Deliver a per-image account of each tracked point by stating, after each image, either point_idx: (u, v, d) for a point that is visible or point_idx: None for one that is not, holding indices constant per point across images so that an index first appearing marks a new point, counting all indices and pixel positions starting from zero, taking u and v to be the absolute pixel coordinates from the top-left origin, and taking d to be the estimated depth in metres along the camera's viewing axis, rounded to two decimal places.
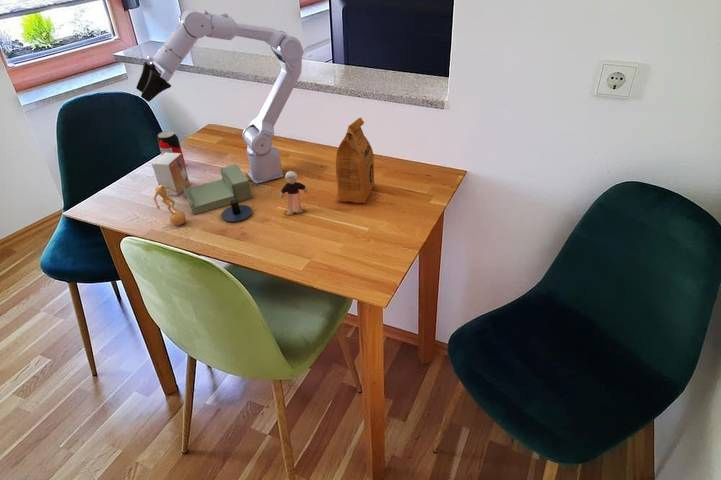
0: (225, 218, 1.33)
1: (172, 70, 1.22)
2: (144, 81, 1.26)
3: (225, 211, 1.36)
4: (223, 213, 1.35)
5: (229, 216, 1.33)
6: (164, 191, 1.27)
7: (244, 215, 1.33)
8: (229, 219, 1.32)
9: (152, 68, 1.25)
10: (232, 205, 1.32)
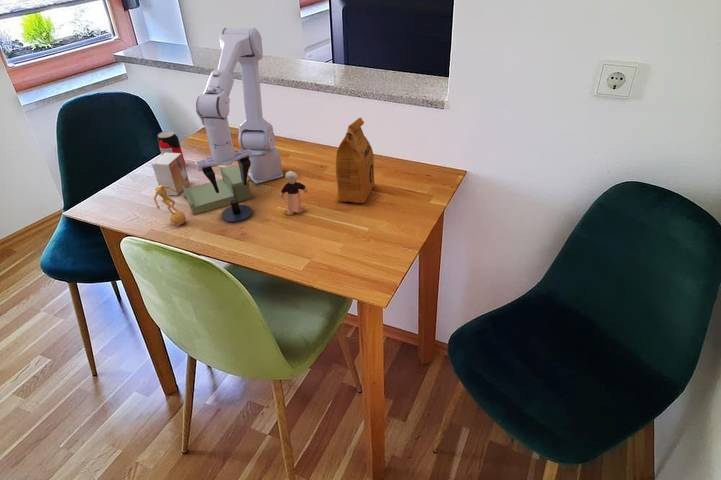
0: (225, 218, 1.33)
1: None
2: None
3: (225, 211, 1.36)
4: (223, 213, 1.35)
5: (229, 216, 1.33)
6: (164, 191, 1.27)
7: (244, 215, 1.33)
8: (229, 219, 1.32)
9: (212, 169, 1.24)
10: (232, 205, 1.32)
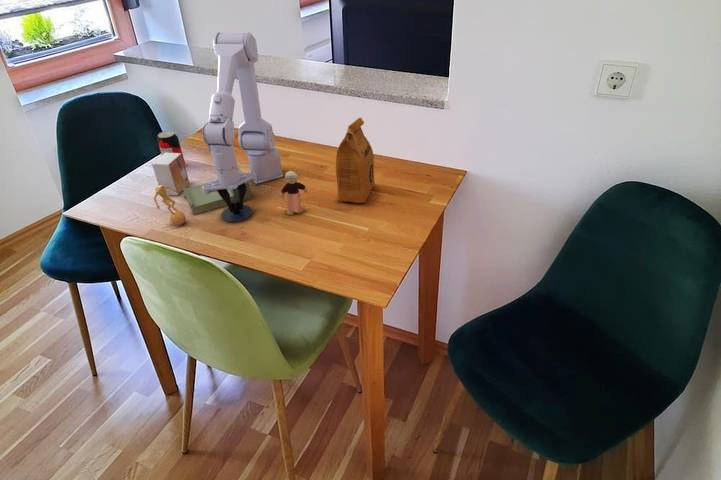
0: (225, 218, 1.33)
1: None
2: None
3: (225, 211, 1.36)
4: (223, 213, 1.35)
5: (229, 216, 1.33)
6: (164, 191, 1.27)
7: (244, 215, 1.33)
8: (229, 219, 1.32)
9: None
10: (232, 205, 1.32)
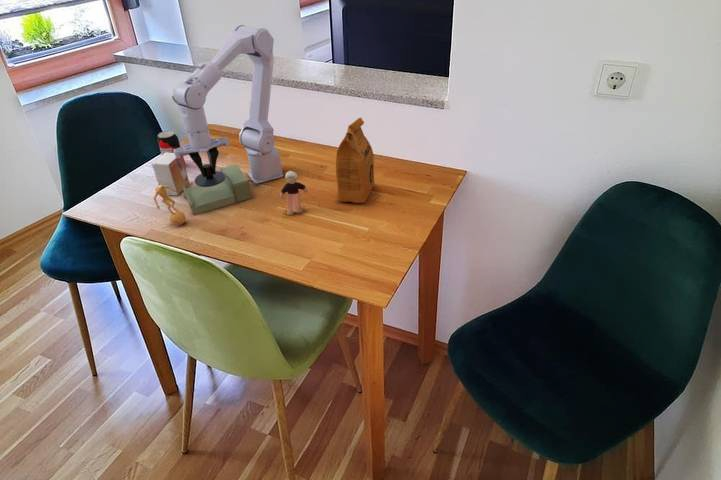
0: (198, 183, 1.34)
1: None
2: None
3: (198, 176, 1.37)
4: (196, 178, 1.36)
5: (202, 181, 1.34)
6: (164, 191, 1.27)
7: (217, 180, 1.35)
8: (202, 183, 1.33)
9: (199, 154, 1.30)
10: (205, 170, 1.33)
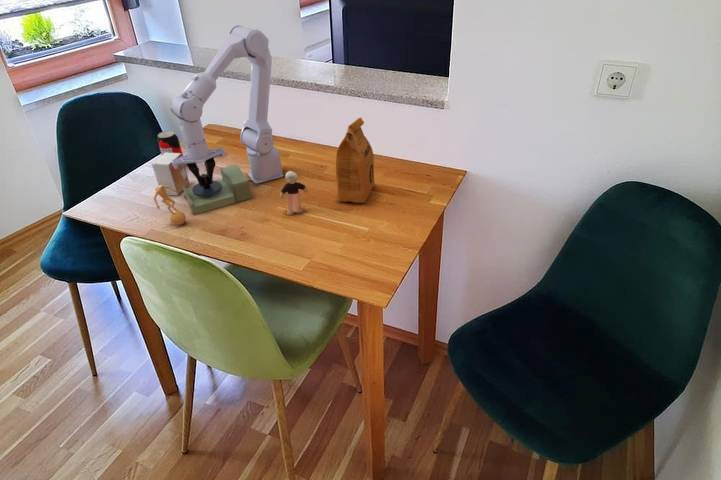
0: (195, 192, 1.38)
1: None
2: None
3: (196, 185, 1.41)
4: (194, 187, 1.40)
5: (199, 190, 1.39)
6: (164, 191, 1.27)
7: (214, 189, 1.39)
8: (199, 193, 1.37)
9: (196, 164, 1.34)
10: (202, 179, 1.37)
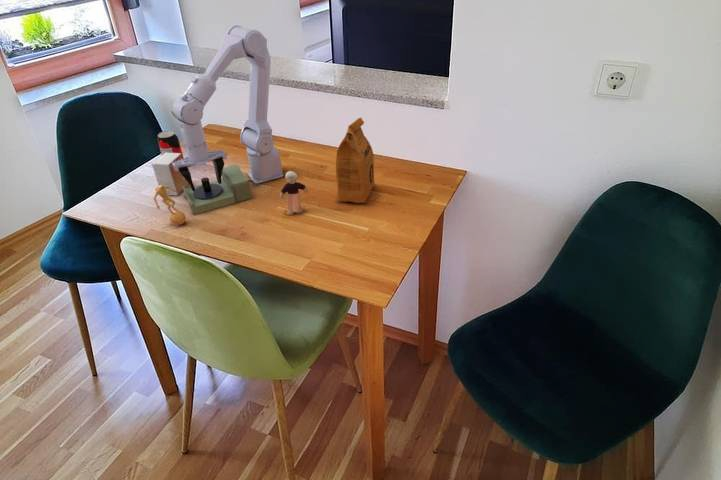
0: (196, 195, 1.38)
1: None
2: None
3: (197, 189, 1.41)
4: (195, 191, 1.41)
5: (200, 194, 1.39)
6: (164, 191, 1.27)
7: (214, 193, 1.39)
8: (200, 196, 1.38)
9: (188, 169, 1.34)
10: (203, 183, 1.38)
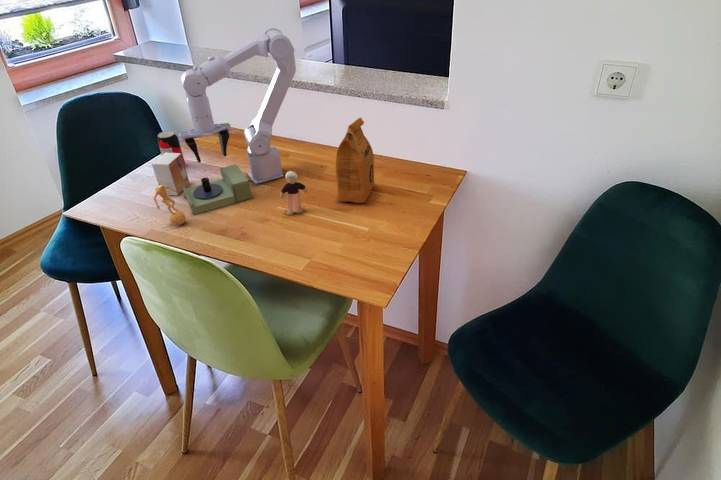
0: (196, 195, 1.38)
1: None
2: None
3: (197, 189, 1.41)
4: (195, 191, 1.41)
5: (200, 194, 1.39)
6: (164, 191, 1.27)
7: (214, 193, 1.39)
8: (200, 196, 1.38)
9: (194, 140, 1.38)
10: (203, 183, 1.38)
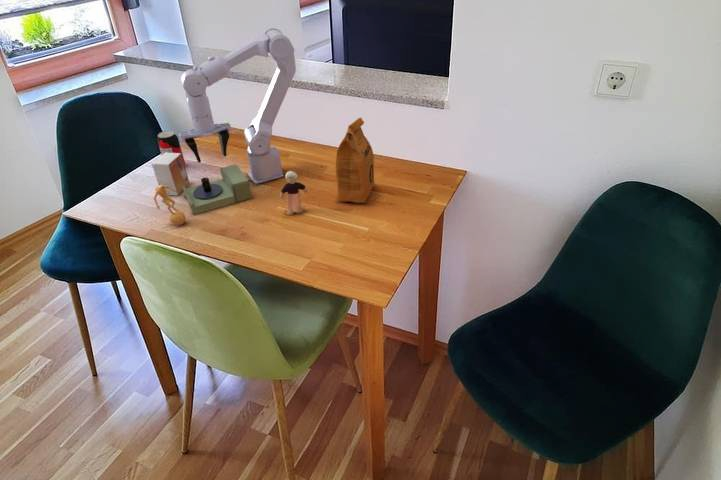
0: (196, 195, 1.38)
1: None
2: None
3: (197, 189, 1.41)
4: (195, 191, 1.41)
5: (200, 194, 1.39)
6: (164, 191, 1.27)
7: (214, 193, 1.39)
8: (200, 196, 1.38)
9: (194, 140, 1.38)
10: (203, 183, 1.38)
